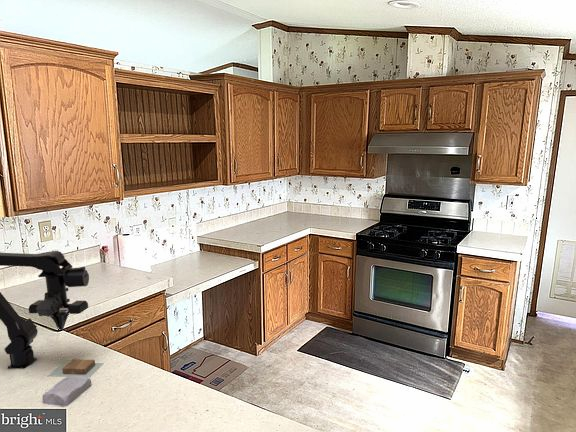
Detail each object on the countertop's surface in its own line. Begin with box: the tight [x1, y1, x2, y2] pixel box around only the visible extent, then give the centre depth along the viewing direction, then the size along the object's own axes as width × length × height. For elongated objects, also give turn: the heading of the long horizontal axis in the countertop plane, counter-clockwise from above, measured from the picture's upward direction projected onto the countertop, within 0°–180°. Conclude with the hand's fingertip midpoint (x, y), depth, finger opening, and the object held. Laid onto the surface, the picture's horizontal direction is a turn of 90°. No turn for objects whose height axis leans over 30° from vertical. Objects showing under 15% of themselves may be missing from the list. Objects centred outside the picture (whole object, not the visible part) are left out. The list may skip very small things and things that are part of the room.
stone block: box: [42, 376, 92, 407], centre depth 126 cm, size 12×5×10 cm
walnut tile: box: [62, 358, 96, 375], centre depth 139 cm, size 2×6×8 cm
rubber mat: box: [47, 361, 105, 379], centre depth 139 cm, size 15×9×1 cm, turn 86°
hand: (61, 329), depth 144 cm, fingers closed
